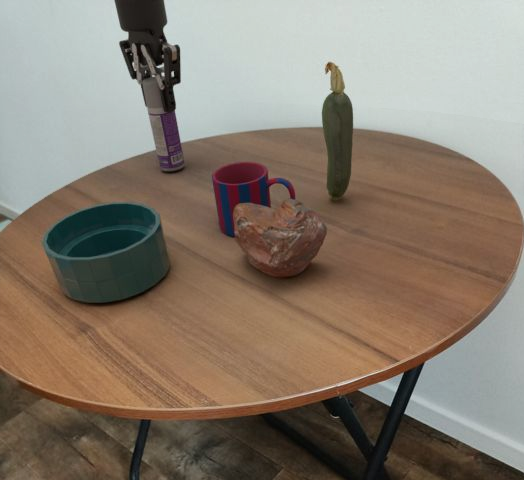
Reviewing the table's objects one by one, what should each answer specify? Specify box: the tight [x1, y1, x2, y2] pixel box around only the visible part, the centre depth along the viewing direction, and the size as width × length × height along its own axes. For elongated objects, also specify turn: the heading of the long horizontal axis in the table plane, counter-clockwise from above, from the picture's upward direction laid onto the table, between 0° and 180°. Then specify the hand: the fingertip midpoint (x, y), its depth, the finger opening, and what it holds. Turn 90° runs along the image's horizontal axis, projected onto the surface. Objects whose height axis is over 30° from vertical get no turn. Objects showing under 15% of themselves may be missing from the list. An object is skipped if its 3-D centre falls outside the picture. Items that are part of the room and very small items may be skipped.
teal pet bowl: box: [41, 201, 171, 304], centre depth 70 cm, size 15×15×7 cm
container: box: [142, 75, 185, 172], centre depth 93 cm, size 5×5×15 cm
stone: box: [233, 198, 328, 278], centre depth 65 cm, size 13×8×10 cm
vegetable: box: [321, 61, 354, 202], centre depth 76 cm, size 4×4×20 cm
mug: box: [211, 161, 296, 238], centre depth 76 cm, size 8×12×8 cm, turn 64°
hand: (160, 108), depth 91 cm, fingers closed on container, 4 cm apart
